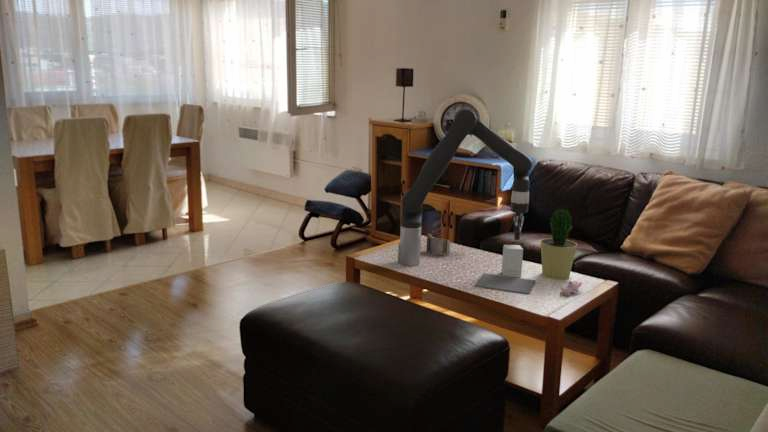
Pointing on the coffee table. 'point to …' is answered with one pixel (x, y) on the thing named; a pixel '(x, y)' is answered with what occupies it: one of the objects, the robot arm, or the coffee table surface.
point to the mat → (505, 283)
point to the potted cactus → (558, 248)
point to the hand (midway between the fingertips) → (517, 239)
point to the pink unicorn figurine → (570, 288)
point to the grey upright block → (438, 245)
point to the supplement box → (512, 260)
